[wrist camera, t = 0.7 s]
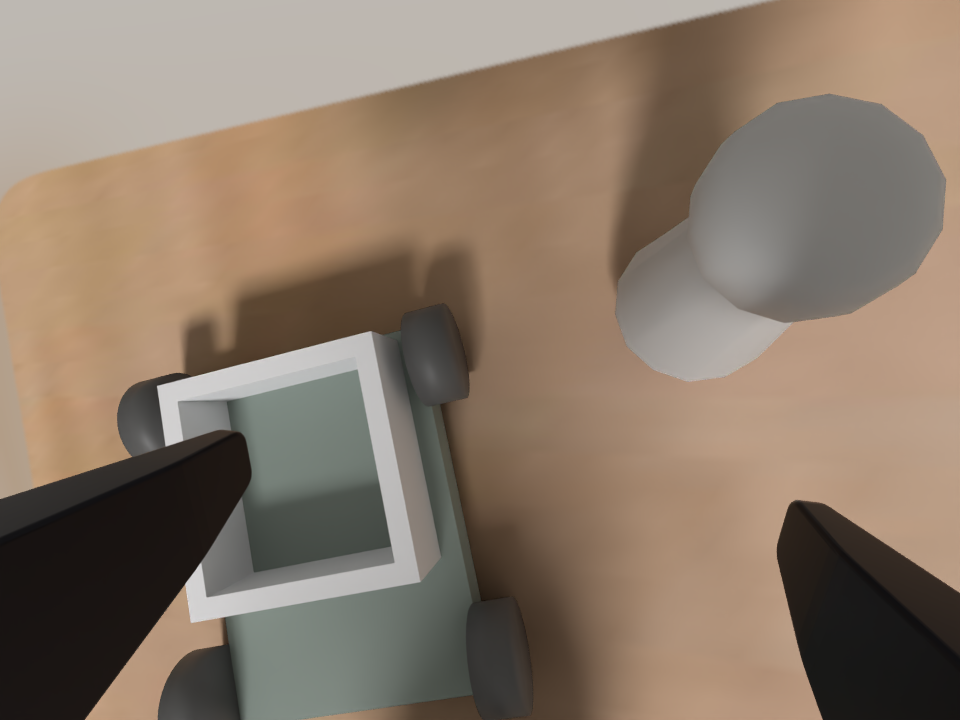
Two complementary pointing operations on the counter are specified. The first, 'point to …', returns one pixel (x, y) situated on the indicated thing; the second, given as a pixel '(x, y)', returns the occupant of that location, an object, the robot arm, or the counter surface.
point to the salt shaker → (783, 235)
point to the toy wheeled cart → (337, 535)
